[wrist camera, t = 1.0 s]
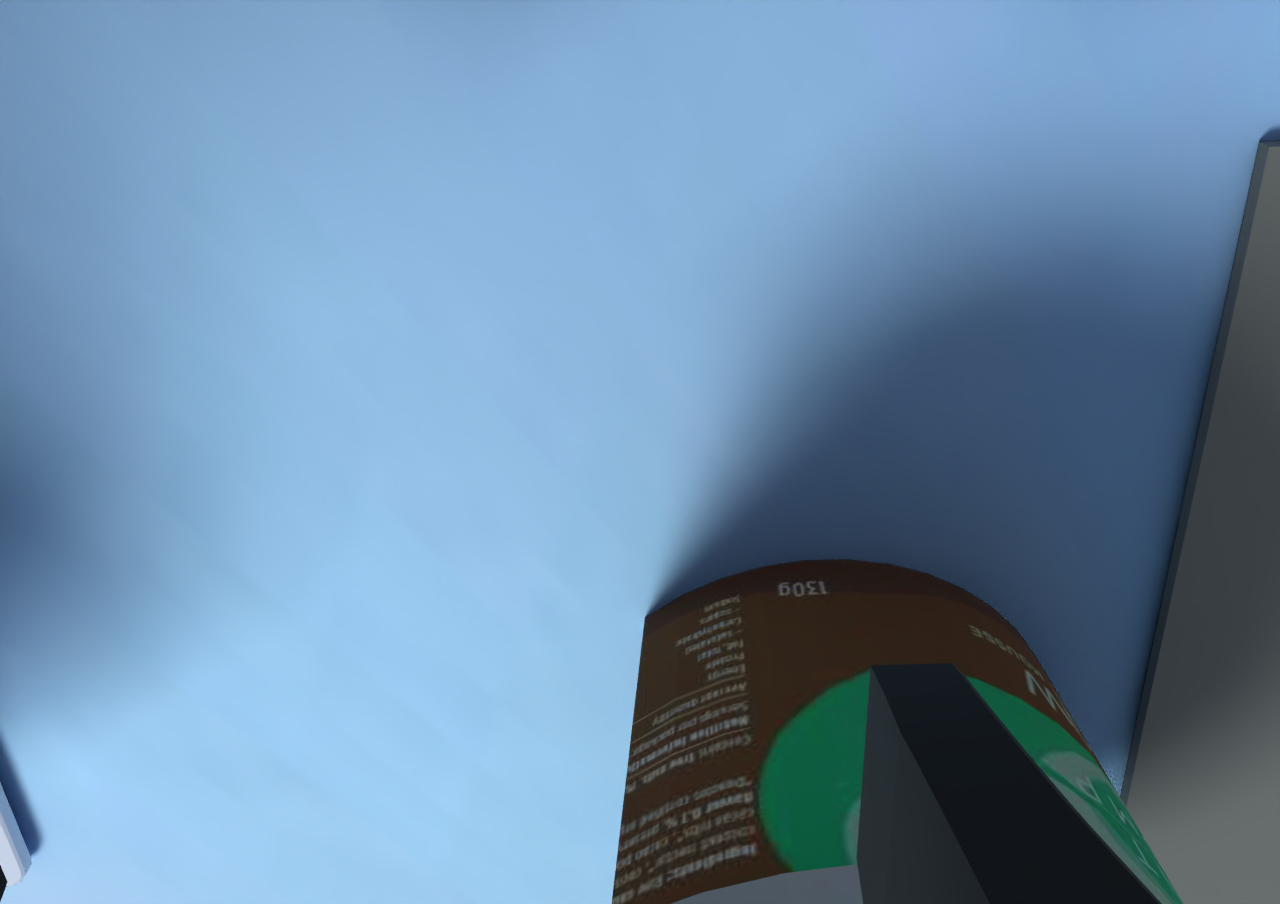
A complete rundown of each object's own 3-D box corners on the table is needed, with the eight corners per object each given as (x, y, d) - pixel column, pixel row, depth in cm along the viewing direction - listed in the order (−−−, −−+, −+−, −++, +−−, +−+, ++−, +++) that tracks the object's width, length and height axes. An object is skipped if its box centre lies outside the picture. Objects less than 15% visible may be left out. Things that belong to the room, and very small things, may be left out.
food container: (1234, 786, 23) (1591, 1375, 15) (973, 924, 25) (1150, 1517, 17) (874, 358, 19) (1078, 837, 10) (589, 567, 21) (554, 1120, 12)
